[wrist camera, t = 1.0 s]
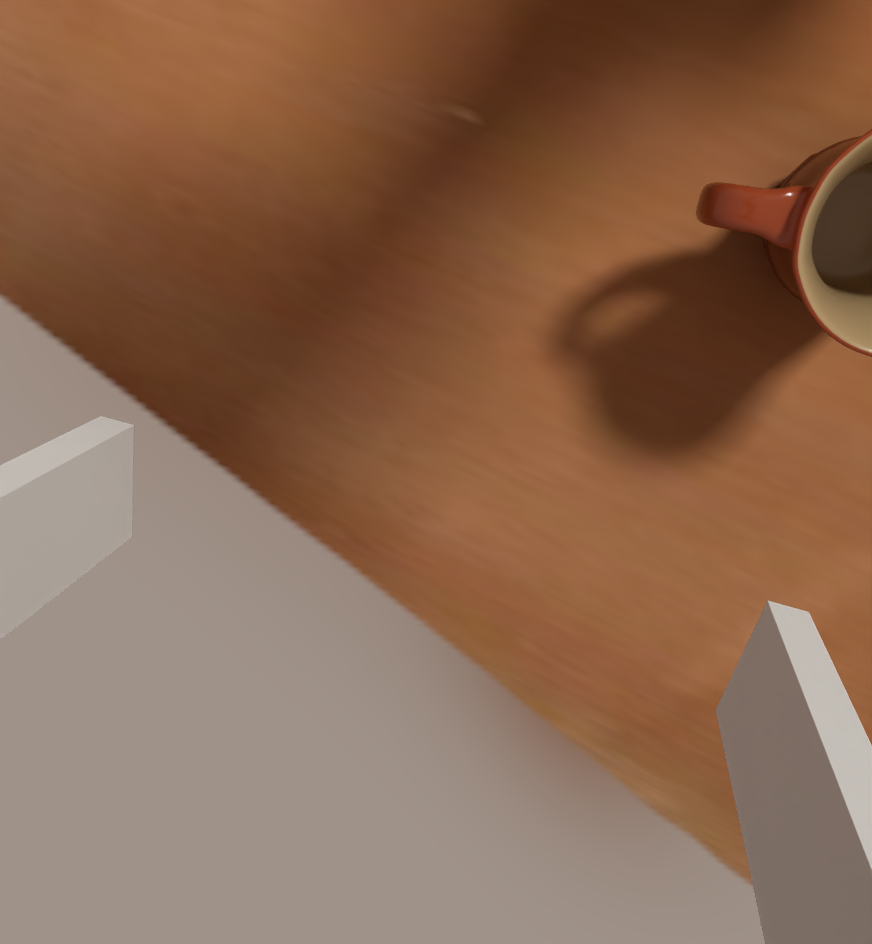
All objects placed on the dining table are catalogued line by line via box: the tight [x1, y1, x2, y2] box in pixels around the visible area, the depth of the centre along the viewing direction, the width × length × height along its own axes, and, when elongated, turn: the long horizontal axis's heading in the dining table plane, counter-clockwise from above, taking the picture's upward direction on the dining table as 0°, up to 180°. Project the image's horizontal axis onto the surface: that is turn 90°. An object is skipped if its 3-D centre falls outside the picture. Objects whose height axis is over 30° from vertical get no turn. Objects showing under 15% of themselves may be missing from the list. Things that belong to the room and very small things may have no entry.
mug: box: [696, 129, 872, 357], centre depth 30 cm, size 12×9×10 cm
